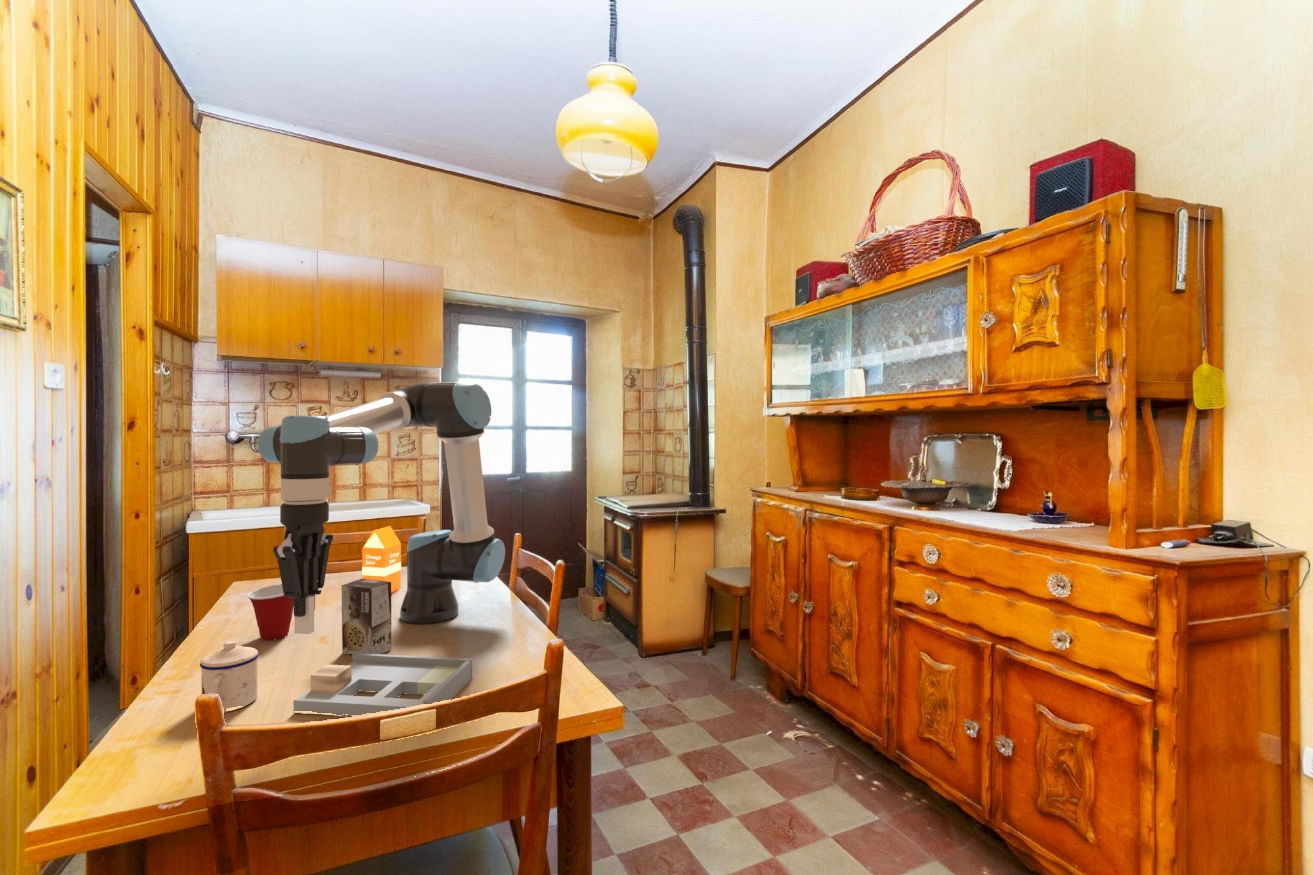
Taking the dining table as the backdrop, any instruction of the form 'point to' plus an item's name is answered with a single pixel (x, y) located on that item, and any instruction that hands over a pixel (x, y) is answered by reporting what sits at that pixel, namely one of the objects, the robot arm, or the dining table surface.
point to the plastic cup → (272, 611)
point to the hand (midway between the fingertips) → (304, 632)
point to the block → (331, 678)
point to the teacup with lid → (231, 674)
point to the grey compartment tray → (390, 684)
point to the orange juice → (382, 557)
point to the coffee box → (366, 617)
